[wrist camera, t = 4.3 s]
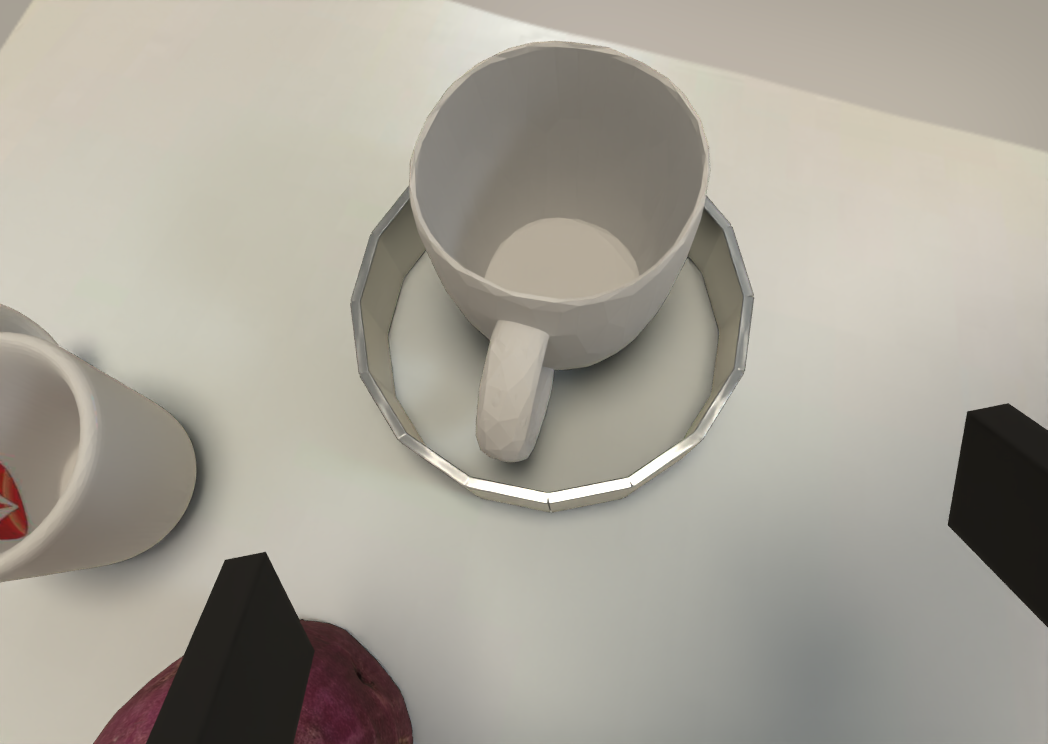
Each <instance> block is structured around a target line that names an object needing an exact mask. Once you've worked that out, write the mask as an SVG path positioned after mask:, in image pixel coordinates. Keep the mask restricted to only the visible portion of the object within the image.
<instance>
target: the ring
mask: <svg viewBox="0 0 1048 744" xmlns="http://www.w3.org/2000/svg"><path fill="white" fill-rule="evenodd" d="M730 226H731V224H730V223H729V221H728V220H727V219H726V218H725V217H724V216H723V214H722V213H721V212H720V211H719V210H718V209H717V207H716V206H715V205H714V204H713V203H712V202H711V200H710V199H709V198H708V197H707V196H706V199H705V204H704V208H703V212H702V217H701V221H700V223H699V226H698V229H697V232H696V234H695V237H694V240H693V242H692V245H691V248H690V250H689V253H688V256H689V258H690V259H691V260H692V261H693V263H694V264H695V265H696V266H697V267H698V269H699V270H700V271H701V272H702V274H703V278H704V281H705V285H706V288H707V291H708V295H709V298H710V302H711V305H712V309H713V312H714V315H715V319H716V322H717V326H718V329H719V338H718V346H717V353H716V360H715V368H714V375H713V382H712V389H711V395H710V397H709V398H708V400H707V402H706V403H705V405H704V406H703V408H702V409H701V411H700V413H699V414H698V416H697V417H696V419H695V421H694V422H693V424H692V425H691V427H690V429H689V430H688V432H687V433H686V435H685V437H684V438H683V440H681V441H680V442H678V443H677V444H675V445H674V446H673V447H671V448H670V449H668V450H667V451H665V452H664V453H662V454H661V455H659V456H658V457H656V458H655V459H653V460H652V461H650V462H649V463H647V464H646V465H645V466H643V467H642V468H640V469H639V470H637V471H636V472H634V473H633V474H631V475H630V476H628V477H625V478H620V479H614V480H609V481H604V482H599V483H594V484H589V485H584V486H579V487H574V488H569V489H564V490H559V491H554V492H549V493H548V492H543V491H538V490H533V489H528V488H523V487H519V486H514V485H509V484H504V483H499V482H494V481H489V480H484V479H480V478H475V477H470V476H468V475H467V474H466V473H464V472H463V471H461V470H460V469H458V468H457V467H455V466H454V465H453V464H451V463H450V462H448V461H447V460H445V459H444V458H443V457H441V456H440V455H438V454H437V453H435V452H434V451H432V450H431V449H430V448H428V447H427V446H426V445H425V443H424V442H423V440H422V438H421V437H420V435H419V434H418V432H417V430H416V429H415V427H414V425H413V424H412V422H411V421H410V419H409V417H408V416H407V414H406V412H405V411H404V409H403V408H402V406H401V404H400V403H399V401H398V399H397V398H396V395H395V387H394V380H393V372H392V365H391V358H390V350H389V343H388V333H389V329H390V325H391V322H392V318H393V315H394V311H395V307H396V304H397V300H398V297H399V293H400V289H401V286H402V282H403V279H404V277H405V276H406V275H407V273H408V272H409V271H410V269H411V268H412V267H413V266H414V264H415V263H416V262H417V260H418V259H419V258H420V257H421V255H422V254H423V253H424V251H425V250H426V248H425V246H424V244H423V242H422V240H421V238H420V235H419V233H418V230H417V227H416V223H415V219H414V215H413V211H412V208H411V202H410V194H409V186H408V187H407V189H406V190H405V191H404V192H403V194H402V195H401V196H400V197H399V199H398V200H397V201H396V202H395V204H394V205H393V206H392V207H391V209H390V210H389V211H388V212H387V214H386V215H385V216H384V217H383V219H382V220H381V221H380V222H379V224H378V225H377V226H376V227H375V229H374V230H373V231H372V234H371V235H370V237H369V241H368V244H367V247H366V251H365V254H364V258H363V261H362V264H361V268H360V271H359V274H358V278H357V281H356V284H355V288H354V291H353V294H352V298H351V302H352V303H350V305H351V314H352V322H353V330H354V339H355V347H356V355H357V364H358V372H359V374H360V378H361V379H362V381H363V383H364V384H365V386H366V388H367V389H368V391H369V393H370V394H371V396H372V398H373V399H374V401H375V403H376V404H377V406H378V408H379V409H380V411H381V413H382V414H383V416H384V418H385V419H386V421H387V423H388V424H389V426H390V428H391V429H392V431H393V433H394V434H395V436H396V438H397V439H398V440H399V441H400V442H401V443H402V444H404V445H405V446H406V447H408V448H409V449H411V450H412V451H413V452H415V453H416V454H418V455H419V456H420V457H422V458H423V459H425V460H426V461H427V462H429V463H430V464H432V465H433V466H435V467H436V468H437V469H439V470H440V471H442V472H443V473H445V474H446V475H447V476H449V477H450V478H452V479H453V480H455V481H456V482H457V483H459V484H460V485H462V486H463V487H465V488H466V489H467V490H469V491H470V492H472V493H473V494H475V495H476V496H477V497H480V498H482V499H487V500H492V501H496V502H501V503H506V504H511V505H516V506H520V507H525V508H530V509H535V510H540V511H544V512H558V511H563V510H568V509H573V508H578V507H583V506H588V505H594V504H599V503H604V502H609V501H614V500H619V499H622V498H623V497H624V498H625V497H627V496H628V495H629V494H631V493H632V492H634V491H635V490H637V489H638V488H640V487H641V486H643V485H644V484H646V483H647V482H649V481H650V480H651V479H653V478H654V477H656V476H657V475H659V474H660V473H662V472H663V471H665V470H666V469H668V468H669V467H671V466H672V465H673V464H675V463H676V462H678V461H679V460H681V459H682V458H683V457H684V456H686V455H687V454H688V453H689V452H690V451H691V450H692V449H693V448H694V447H695V446H697V445H698V444H699V443H700V442H701V441H702V440H703V439H704V437H705V435H706V434H707V432H708V431H709V429H710V427H711V426H712V424H713V422H714V421H715V419H716V418H717V416H718V414H719V413H720V411H721V410H722V408H723V406H724V405H725V403H726V402H727V400H728V398H729V397H730V395H731V393H732V392H733V390H734V389H735V387H736V385H737V384H738V382H739V381H740V379H741V377H742V376H743V374H744V371H745V366H746V358H747V350H748V342H749V334H750V326H751V318H752V310H753V302H754V297H753V296H754V294H753V291H752V288H751V285H750V281H749V278H748V275H747V272H746V269H745V265H744V262H743V259H742V256H741V253H740V249H739V246H738V243H737V240H736V237H735V233H734V230H733V227H732V226H731V227H730Z"/></svg>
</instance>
